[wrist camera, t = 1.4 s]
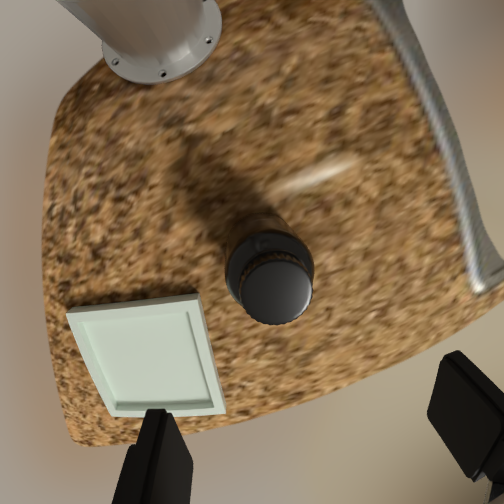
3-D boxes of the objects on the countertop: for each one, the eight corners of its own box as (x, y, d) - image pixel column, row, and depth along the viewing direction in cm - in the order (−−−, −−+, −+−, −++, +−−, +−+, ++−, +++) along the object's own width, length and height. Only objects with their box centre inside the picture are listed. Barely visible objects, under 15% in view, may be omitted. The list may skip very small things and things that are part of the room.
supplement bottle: (216, 263, 31) (205, 318, 20) (242, 200, 30) (247, 221, 18) (277, 287, 32) (299, 350, 21) (305, 228, 31) (346, 263, 19)
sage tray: (72, 307, 32) (65, 313, 30) (199, 292, 32) (197, 299, 30) (115, 408, 36) (111, 416, 34) (226, 404, 36) (225, 413, 34)
